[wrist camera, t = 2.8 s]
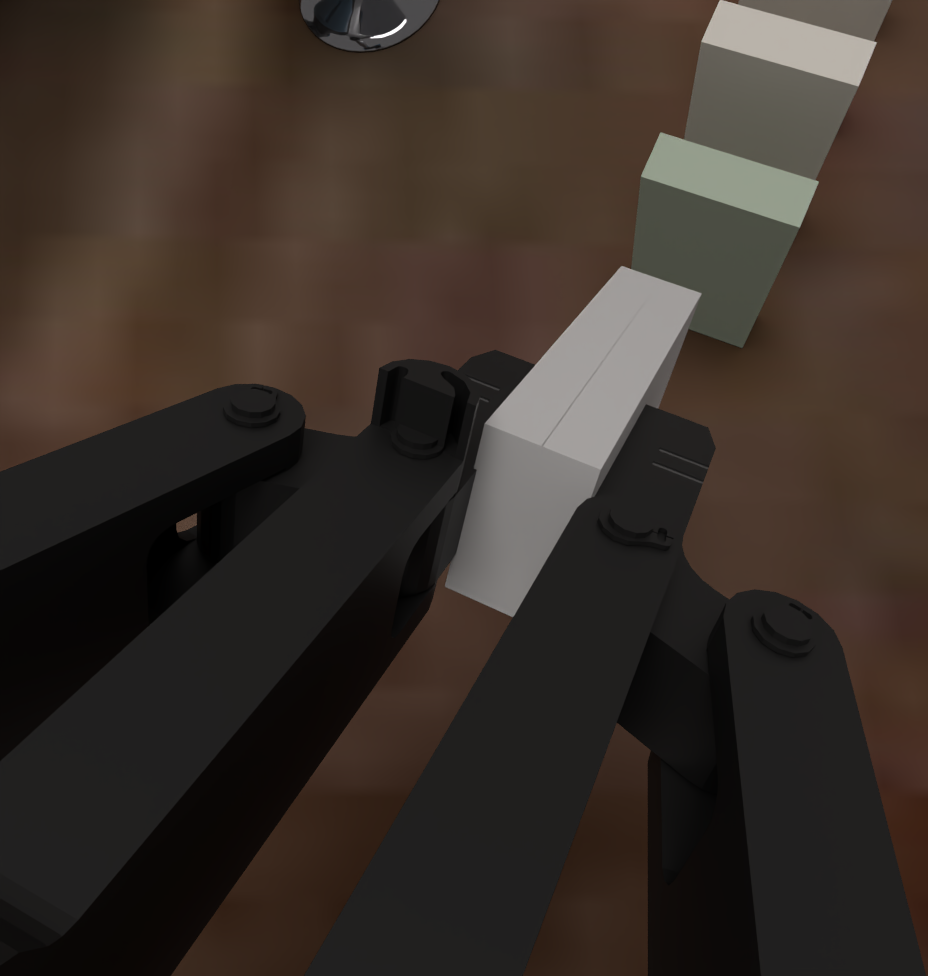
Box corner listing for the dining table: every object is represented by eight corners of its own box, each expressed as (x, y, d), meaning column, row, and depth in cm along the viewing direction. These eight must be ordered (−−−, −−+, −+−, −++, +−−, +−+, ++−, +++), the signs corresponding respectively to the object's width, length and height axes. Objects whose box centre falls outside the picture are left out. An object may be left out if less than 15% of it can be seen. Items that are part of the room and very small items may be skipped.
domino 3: (742, 348, 36) (799, 227, 26) (627, 307, 37) (640, 176, 27) (756, 313, 36) (819, 181, 26) (641, 273, 37) (660, 132, 27)
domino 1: (829, 139, 37) (914, -49, 27) (715, 105, 38) (758, -88, 28) (842, 107, 37) (931, -91, 27) (729, 75, 38) (776, -128, 28)
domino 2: (786, 242, 36) (858, 86, 27) (672, 204, 37) (701, 41, 28) (800, 209, 36) (876, 42, 27) (686, 172, 38) (719, -1, 28)
